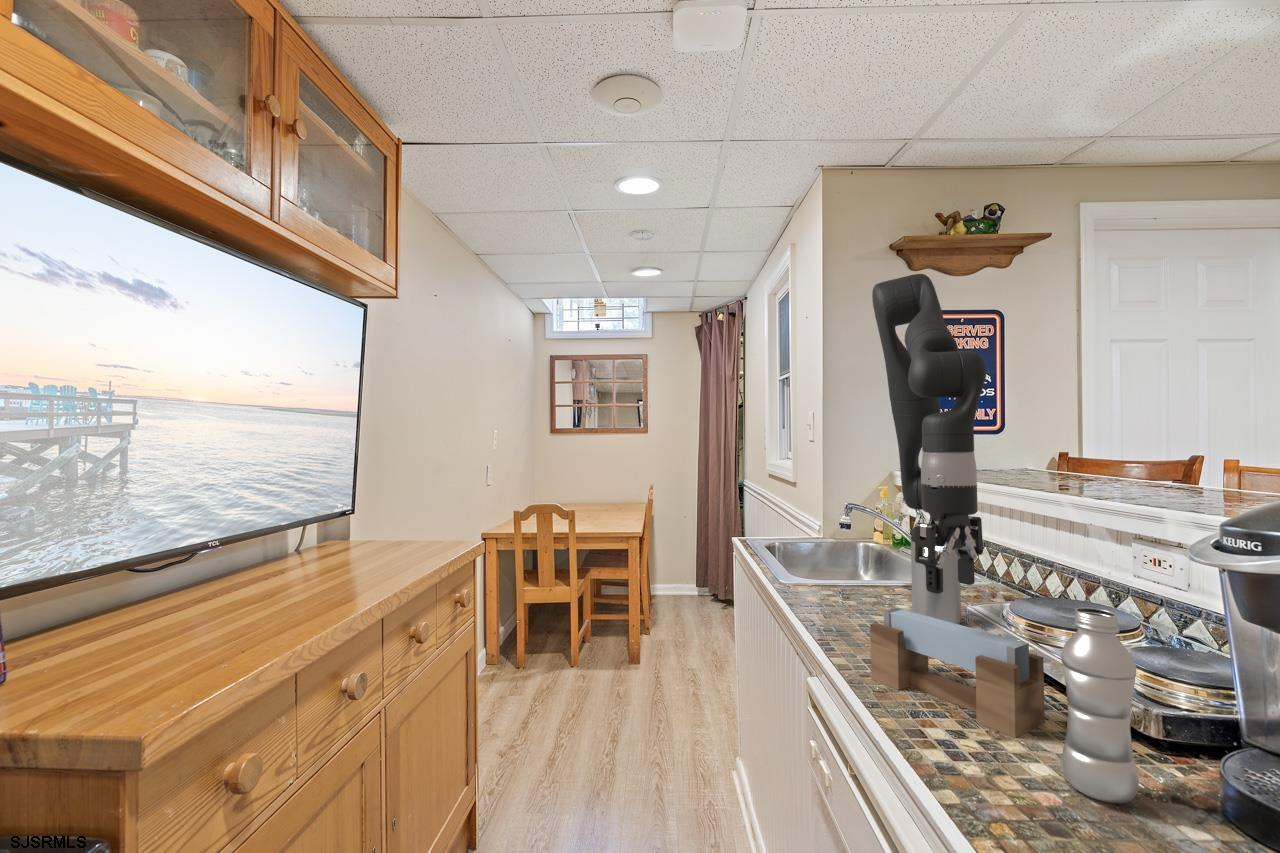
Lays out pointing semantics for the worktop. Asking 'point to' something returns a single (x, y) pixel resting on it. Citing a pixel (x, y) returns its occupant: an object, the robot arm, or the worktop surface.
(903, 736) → the worktop surface
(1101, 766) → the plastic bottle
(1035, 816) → the worktop surface
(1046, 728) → the worktop surface
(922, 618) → the rail
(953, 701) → the wooden notched stand
